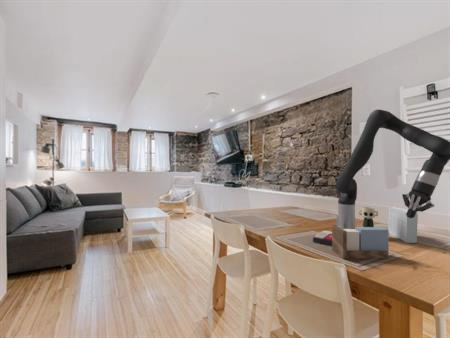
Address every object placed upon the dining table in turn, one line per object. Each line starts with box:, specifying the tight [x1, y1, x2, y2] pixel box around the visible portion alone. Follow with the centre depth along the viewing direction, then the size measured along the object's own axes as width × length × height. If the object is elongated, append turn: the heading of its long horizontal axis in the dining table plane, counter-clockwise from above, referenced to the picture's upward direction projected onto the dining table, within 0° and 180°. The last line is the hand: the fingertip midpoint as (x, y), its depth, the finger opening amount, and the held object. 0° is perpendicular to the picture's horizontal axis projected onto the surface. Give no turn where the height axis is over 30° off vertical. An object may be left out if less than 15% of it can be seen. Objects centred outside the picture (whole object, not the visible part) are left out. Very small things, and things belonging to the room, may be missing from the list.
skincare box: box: [387, 206, 419, 244], centre depth 134 cm, size 21×6×16 cm, turn 168°
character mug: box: [358, 206, 379, 227], centre depth 157 cm, size 11×7×13 cm, turn 61°
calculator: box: [312, 230, 332, 247], centre depth 128 cm, size 11×4×15 cm
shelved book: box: [344, 228, 359, 251], centre depth 108 cm, size 7×4×11 cm, turn 88°
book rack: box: [331, 224, 389, 260], centre depth 107 cm, size 20×11×12 cm, turn 88°
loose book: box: [355, 226, 390, 256], centre depth 107 cm, size 12×4×12 cm, turn 89°
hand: (409, 217), depth 110 cm, fingers closed
